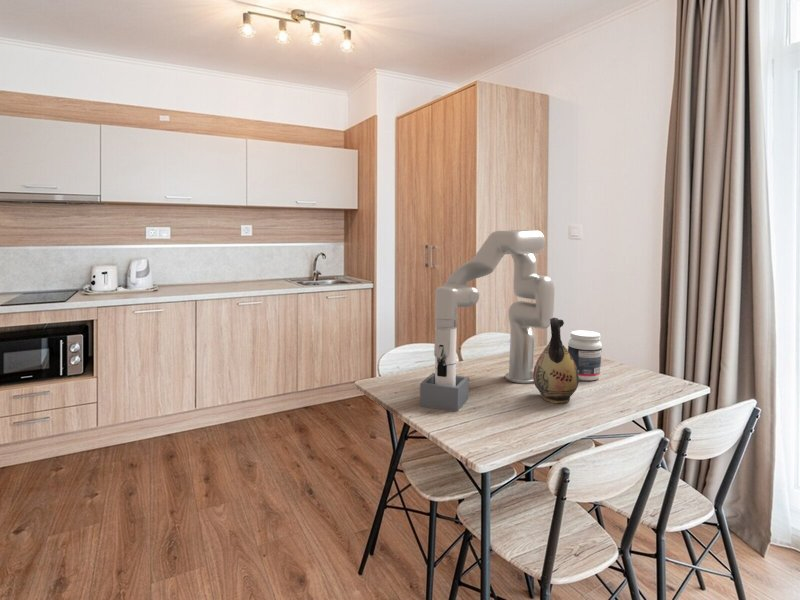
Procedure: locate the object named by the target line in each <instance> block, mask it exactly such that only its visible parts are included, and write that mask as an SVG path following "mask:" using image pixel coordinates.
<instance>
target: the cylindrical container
mask: <svg viewBox="0 0 800 600" xmlns="http://www.w3.org/2000/svg"><path fill="white" fill-rule="evenodd" d="M434 332H435V334H436V330H435V331H434ZM442 356H445V354H444V351H443V353H442ZM442 359H443V361H444V358H442ZM446 365H447V376H446V377H441V376H437V357H434V373H435V384H438V385H446V386H453V387H456V376H457V369H456V368H457V328H455V329H450V352H449V357H447V360H446Z"/></svg>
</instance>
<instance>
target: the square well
mask: <svg viewBox="0 0 800 600" xmlns="http://www.w3.org/2000/svg"><path fill="white" fill-rule="evenodd" d="M469 382H470V377H469V376H462V375H456V387H453V386H446V385H438V384H435V372H432V373H431V374H429V376H427V377H426V378H425V379H424V380H422V381H421V382H420V383H419V406H420V407H425V406H426V407H425V408H431V407H432V408H433V409H437V410H438V409H439V410H445V411H451V412H452V411H453V412H459V411H460V409H462V407H463V406H464V405H465V404H466V403H467V401H468V400H469V396H470V395H469V391H470V390H469V388H470V385H469V384H470V383H469ZM463 404H464V405H463ZM432 408H431V409H432Z"/></svg>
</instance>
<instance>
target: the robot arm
mask: <svg viewBox="0 0 800 600" xmlns="http://www.w3.org/2000/svg"><path fill="white" fill-rule="evenodd" d="M545 245H546V238H545V234H544V233H542V232H541V230H537V229H536V230H535V229H529V230H526V229H510V230H495V231H492V232H491V233H490V234H489V236H488V237H487V238H486V240H485V241H484V242H483V243H482V245H481V246H480V248H479V250H478V251H477V252H476V254H475V255H474V257H473V258H471V260H468V261H467V262H465V263H464V264H462V265H461V266H458V267H457V268H456V269H455V270H454V271H452V272H451V274H449V275H448V278H447V279H446V281H444V283H443V285H442V286H438V287H437V288H436V289H435V301H434V303H435V304H434V305H435V307H434V308H435V309H434V312H435V313H434V319H435V320H434V324H435V326H434V327H435V331H436V334H435V336H434V346H433V347H434V352H433V355H434V356H435V357H437V376H441V377H446V376H447V365H446V360H447V357H449V352H450V329H455V328H456V329H457V328H458V308H470V307H474V306H475V305H476V304H477V303H478V301H479V300H480V292H479V290H478V288H476V287H475V286H472V285H468V283H470V282H471V281H473V280H476V279H479V278H483V277H485V276H488V275H490V274H492V273H493V272H494V271H495V269H496V267H497V266H498V265H499V263H500V261H501V260H502V258H503V257H504V256H505V255H510V257H511V258H512V260H513V269H514V270H513V293H514V295H515V296H516V297H518V298H522V299H526V300H527V299H528V300H533V301H534V300H535V302H531V301H525V300H517V301H515V302H513V303H512V304H511V305H510V306H509V309H508V321H509V328H510V331H509V332H510V334H509V335H510V339H509V366H508V372H507V373H505V375H504V378H505V379H506V381H509V382H513V383H517V384H531V383H533V384H534V380H533V374H534V368H535V365H534V364H535V341H536V336H535V331H534V329H541V330H545V329H548V328H549V327H551V325H550V319H551V318H554V310H555V309H554V308H555V306H554V305H555V284H554V281H553V280H552V279H551V278H550V277H549V276H546V275H542V274H541V275H539V274H538V273H537V266H538V265H537V258H536V256H535V254H539V253H540V252H541V251H542V250H543V249H544V247H545ZM533 328H534V329H533ZM443 351H444V354H445V356H442V353H443ZM435 357H434V358H435ZM442 358H444V361H443V359H442Z"/></svg>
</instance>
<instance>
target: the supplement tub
mask: <svg viewBox="0 0 800 600" xmlns="http://www.w3.org/2000/svg"><path fill="white" fill-rule="evenodd" d="M600 340H601V333H599V332H597V331H592V330H583V329H582V330H573V331H571V332H570V339H569V340H568V346H567V351H568V352H569V354H570V355H571V357H572V358H573V360H574V362H575V364H576V367H577V371H578V376H579V381H585V382H586V381H589V382H590V381H595V380H598V379H599V378H600V377H601V363H602V350H603V349H602V348H603V345H602V342H601V341H600Z"/></svg>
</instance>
